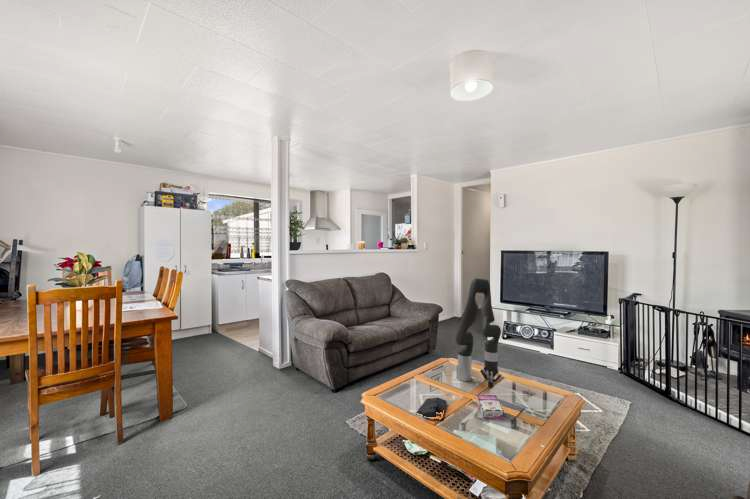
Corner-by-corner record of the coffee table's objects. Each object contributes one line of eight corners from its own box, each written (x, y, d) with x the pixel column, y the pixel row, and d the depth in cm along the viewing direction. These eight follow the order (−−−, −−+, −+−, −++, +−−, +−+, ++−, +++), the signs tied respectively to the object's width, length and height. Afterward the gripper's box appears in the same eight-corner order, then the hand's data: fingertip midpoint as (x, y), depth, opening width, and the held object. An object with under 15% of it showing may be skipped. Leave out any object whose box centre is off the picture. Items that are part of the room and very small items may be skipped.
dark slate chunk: (450, 404, 192) (450, 396, 192) (441, 423, 172) (441, 414, 172) (425, 399, 198) (425, 391, 198) (414, 416, 178) (414, 408, 178)
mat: (485, 410, 184) (485, 409, 184) (498, 399, 197) (498, 398, 197) (512, 420, 174) (512, 419, 174) (524, 408, 187) (524, 407, 187)
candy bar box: (476, 402, 192) (482, 418, 176) (476, 394, 192) (482, 409, 176) (496, 402, 191) (504, 419, 175) (496, 394, 191) (503, 410, 174)
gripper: (477, 357, 193) (477, 386, 193) (499, 363, 184) (499, 393, 184) (483, 354, 198) (483, 382, 199) (504, 360, 189) (504, 389, 189)
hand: (490, 388), depth 191 cm, fingers closed
